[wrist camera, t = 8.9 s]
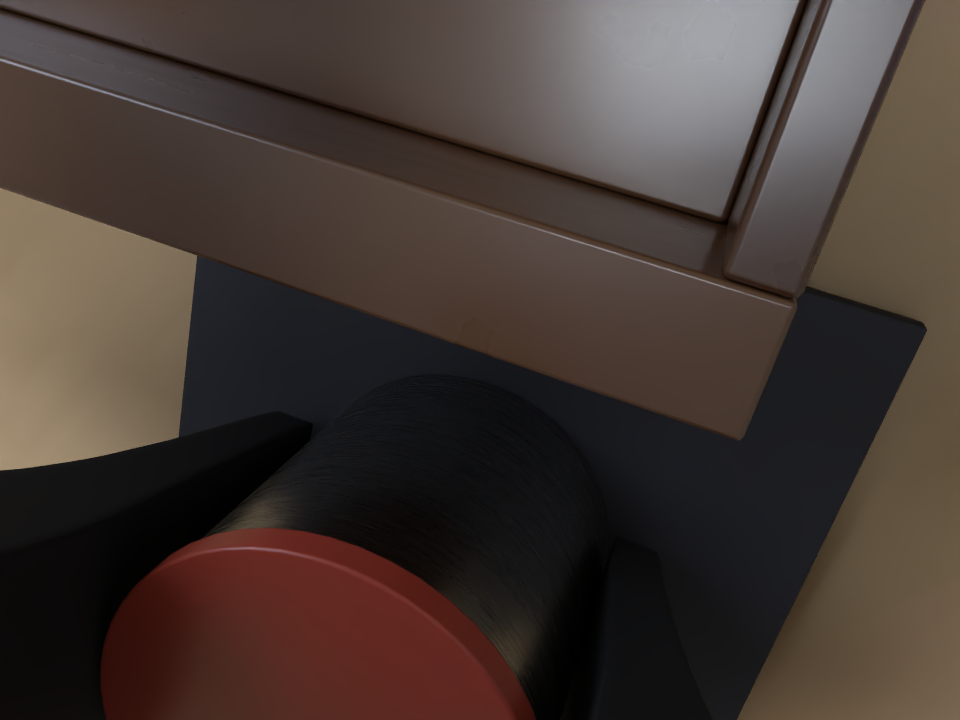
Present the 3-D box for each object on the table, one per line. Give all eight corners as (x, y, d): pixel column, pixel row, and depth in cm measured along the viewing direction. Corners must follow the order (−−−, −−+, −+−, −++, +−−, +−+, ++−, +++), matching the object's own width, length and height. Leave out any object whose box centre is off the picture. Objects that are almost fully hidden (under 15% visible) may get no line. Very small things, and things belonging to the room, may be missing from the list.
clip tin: (660, 434, 12) (606, 673, 7) (563, 696, 14) (473, 1009, 9) (336, 322, 13) (110, 474, 8) (290, 583, 15) (88, 819, 10)
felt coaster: (924, 322, 11) (928, 329, 10) (669, 847, 15) (667, 862, 14) (222, 106, 12) (211, 109, 12) (167, 628, 16) (157, 638, 16)
